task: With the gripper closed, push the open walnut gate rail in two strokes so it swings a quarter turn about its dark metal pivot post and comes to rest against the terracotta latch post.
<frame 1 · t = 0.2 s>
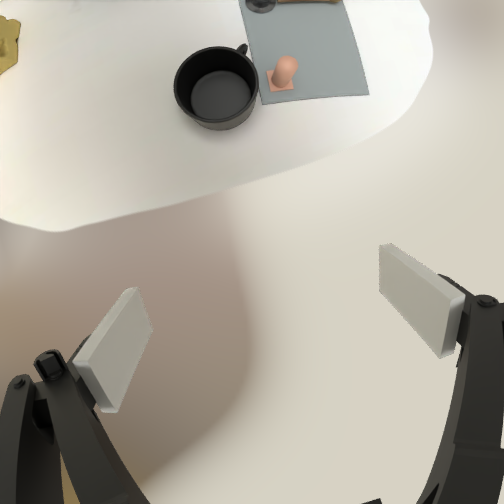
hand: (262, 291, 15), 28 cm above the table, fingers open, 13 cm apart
pivot post: (260, 3, 32), resting on mat
cheese: (2, 55, 30), on the table
mat: (301, 31, 34), on the table
latch post: (279, 81, 36), resting on mat
mug: (225, 91, 37), on the table
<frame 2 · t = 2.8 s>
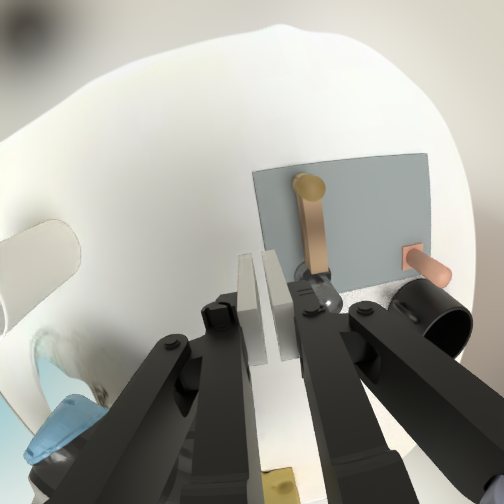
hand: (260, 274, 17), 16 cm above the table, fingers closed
pivot post: (311, 274, 35), resting on mat
cheese: (271, 478, 51), on the table
cup: (57, 249, 33), on the table
mat: (355, 226, 34), on the table
gate: (312, 223, 30), point 4 cm above the table, hinge at 90.0°
latch post: (410, 255, 35), resting on mat
mug: (407, 304, 38), on the table
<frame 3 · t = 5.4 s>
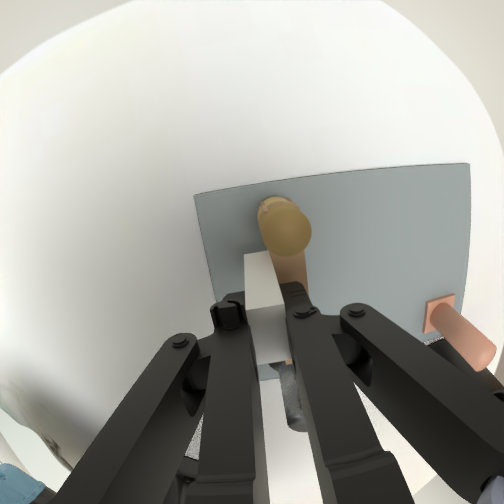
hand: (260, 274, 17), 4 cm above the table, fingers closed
pivot post: (291, 345, 23), resting on mat
mat: (361, 277, 22), on the table
gate: (289, 284, 18), point 4 cm above the table, hinge at 90.0°, touching gripper
latch post: (435, 310, 23), resting on mat
mug: (424, 369, 26), on the table
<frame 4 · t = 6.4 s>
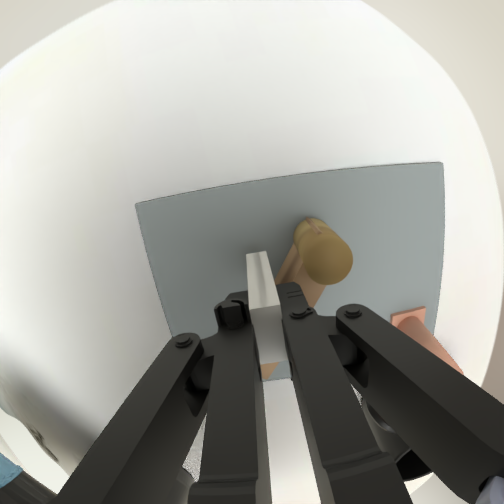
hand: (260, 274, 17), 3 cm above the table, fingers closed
mat: (312, 287, 21), on the table
gate: (289, 303, 17), point 4 cm above the table, hinge at 56.5°, touching gripper
latch post: (404, 323, 22), resting on mat
mug: (394, 384, 25), on the table
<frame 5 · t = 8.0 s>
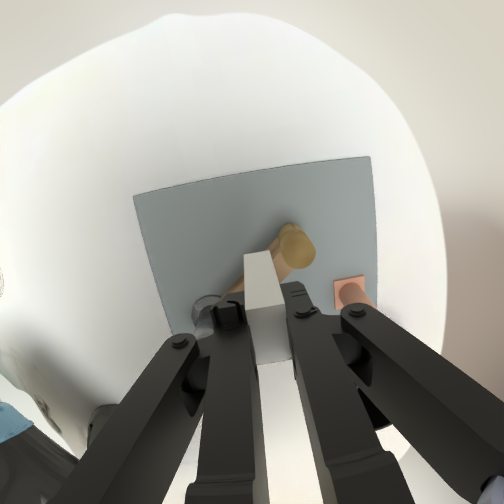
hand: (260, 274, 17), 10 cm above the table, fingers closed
pivot post: (214, 312, 30), resting on mat
mat: (265, 256, 28), on the table
gate: (263, 277, 25), point 4 cm above the table, hinge at 39.5°
latch post: (347, 289, 29), resting on mat
mug: (348, 346, 32), on the table
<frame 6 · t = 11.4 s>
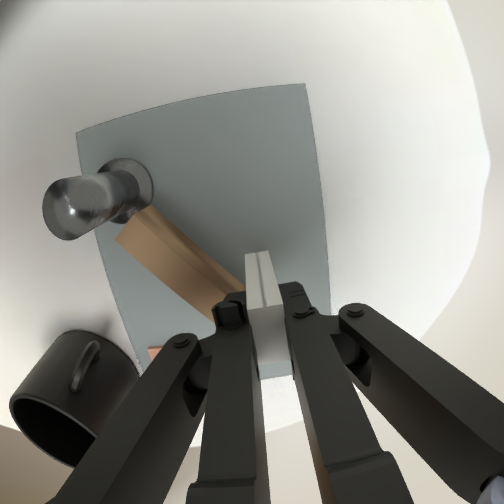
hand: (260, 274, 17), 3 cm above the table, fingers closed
pivot post: (125, 189, 19), resting on mat
mat: (211, 260, 21), on the table
gate: (196, 279, 17), point 4 cm above the table, hinge at 37.6°
mug: (98, 361, 23), on the table
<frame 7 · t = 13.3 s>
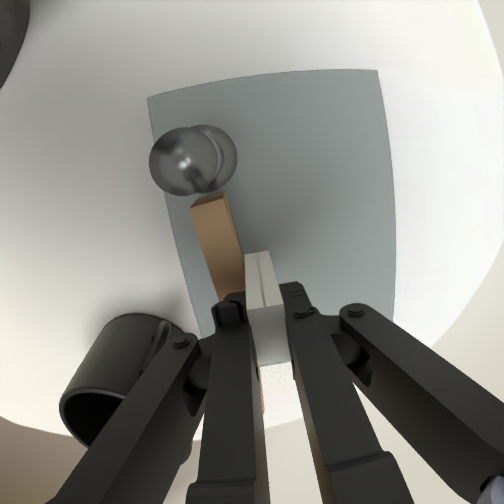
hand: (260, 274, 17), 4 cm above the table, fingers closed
pivot post: (203, 158, 19), resting on mat
mat: (291, 231, 21), on the table
gate: (232, 280, 18), point 4 cm above the table, hinge at 5.0°, touching gripper
mug: (153, 347, 24), on the table
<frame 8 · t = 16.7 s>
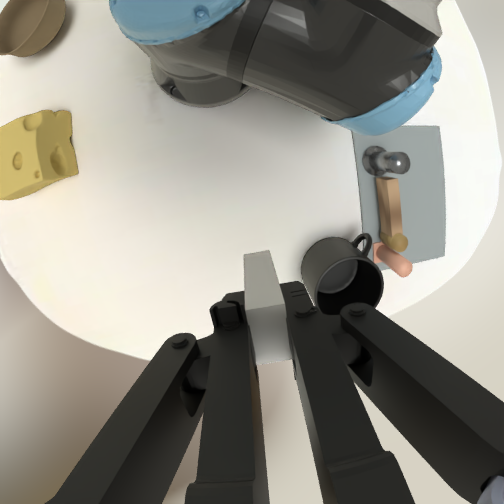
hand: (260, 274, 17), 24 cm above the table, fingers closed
pivot post: (374, 160, 39), resting on mat
cheese: (51, 153, 37), on the table
mat: (405, 197, 41), on the table
gate: (391, 213, 38), point 4 cm above the table, hinge at 2.2°
latch post: (380, 250, 43), resting on mat
mug: (335, 259, 44), on the table
bowl: (49, 32, 30), on the table
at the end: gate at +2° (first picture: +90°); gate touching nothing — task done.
